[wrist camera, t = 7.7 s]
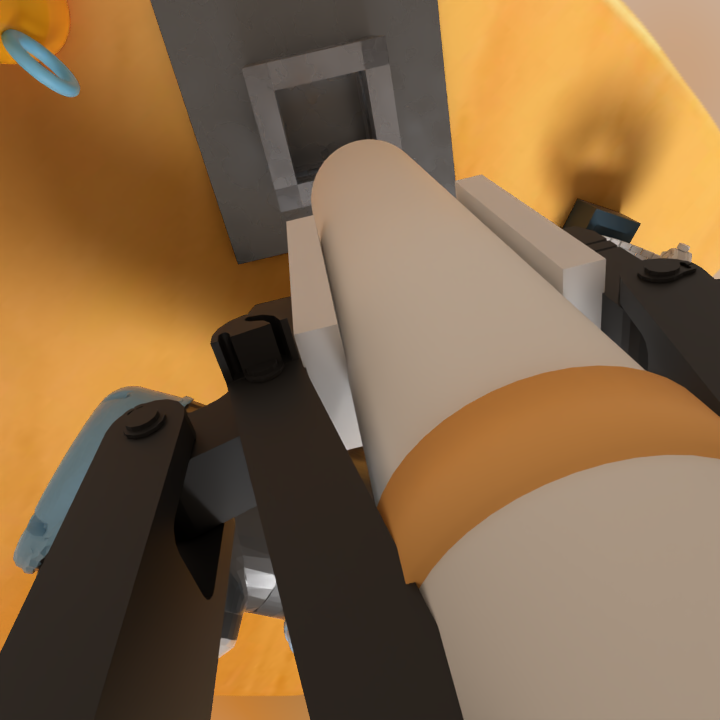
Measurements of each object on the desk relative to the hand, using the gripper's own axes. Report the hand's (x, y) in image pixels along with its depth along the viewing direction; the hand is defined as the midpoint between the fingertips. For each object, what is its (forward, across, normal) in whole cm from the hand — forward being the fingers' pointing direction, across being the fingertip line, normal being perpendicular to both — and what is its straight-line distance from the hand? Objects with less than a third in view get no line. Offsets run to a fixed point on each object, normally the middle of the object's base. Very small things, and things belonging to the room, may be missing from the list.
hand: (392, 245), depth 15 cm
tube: (+5, 0, 0) cm, 5 cm away
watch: (+29, -20, +14) cm, 38 cm away
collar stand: (+29, 0, 0) cm, 29 cm away
